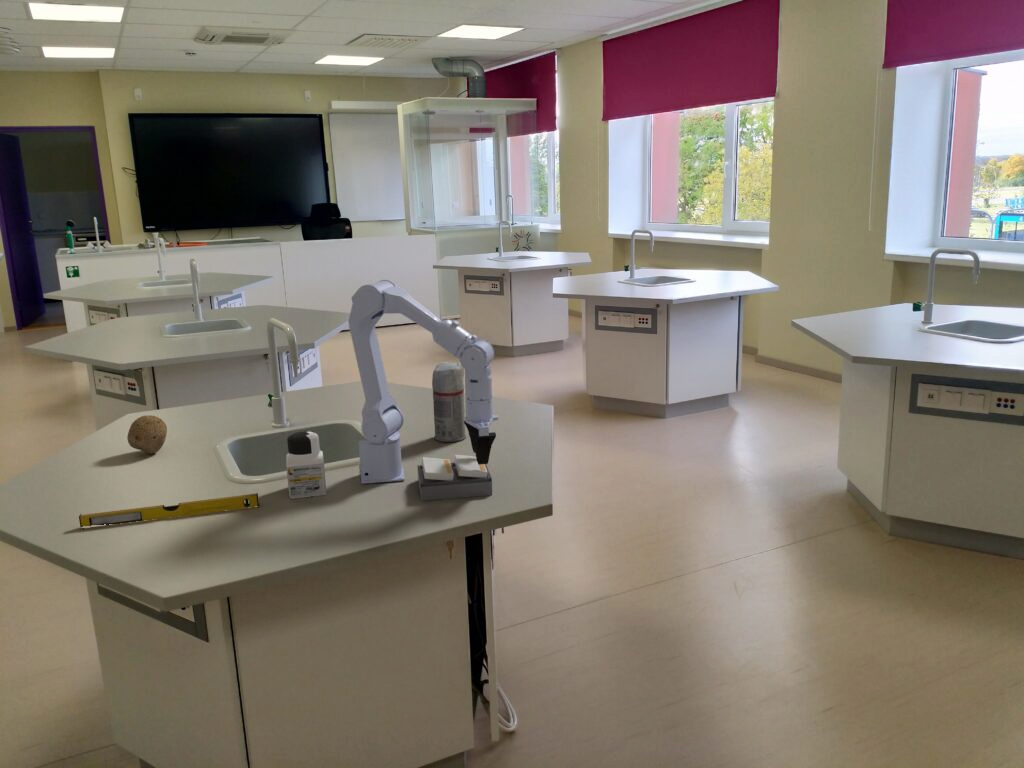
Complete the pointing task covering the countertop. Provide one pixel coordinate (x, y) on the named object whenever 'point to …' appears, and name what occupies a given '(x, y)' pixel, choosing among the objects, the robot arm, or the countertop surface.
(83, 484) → the countertop surface
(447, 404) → the spray can
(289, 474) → the container
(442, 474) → the panel
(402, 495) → the countertop surface
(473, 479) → the grey divided tray
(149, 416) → the brown potato
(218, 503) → the spirit level
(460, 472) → the rocker right
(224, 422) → the countertop surface
